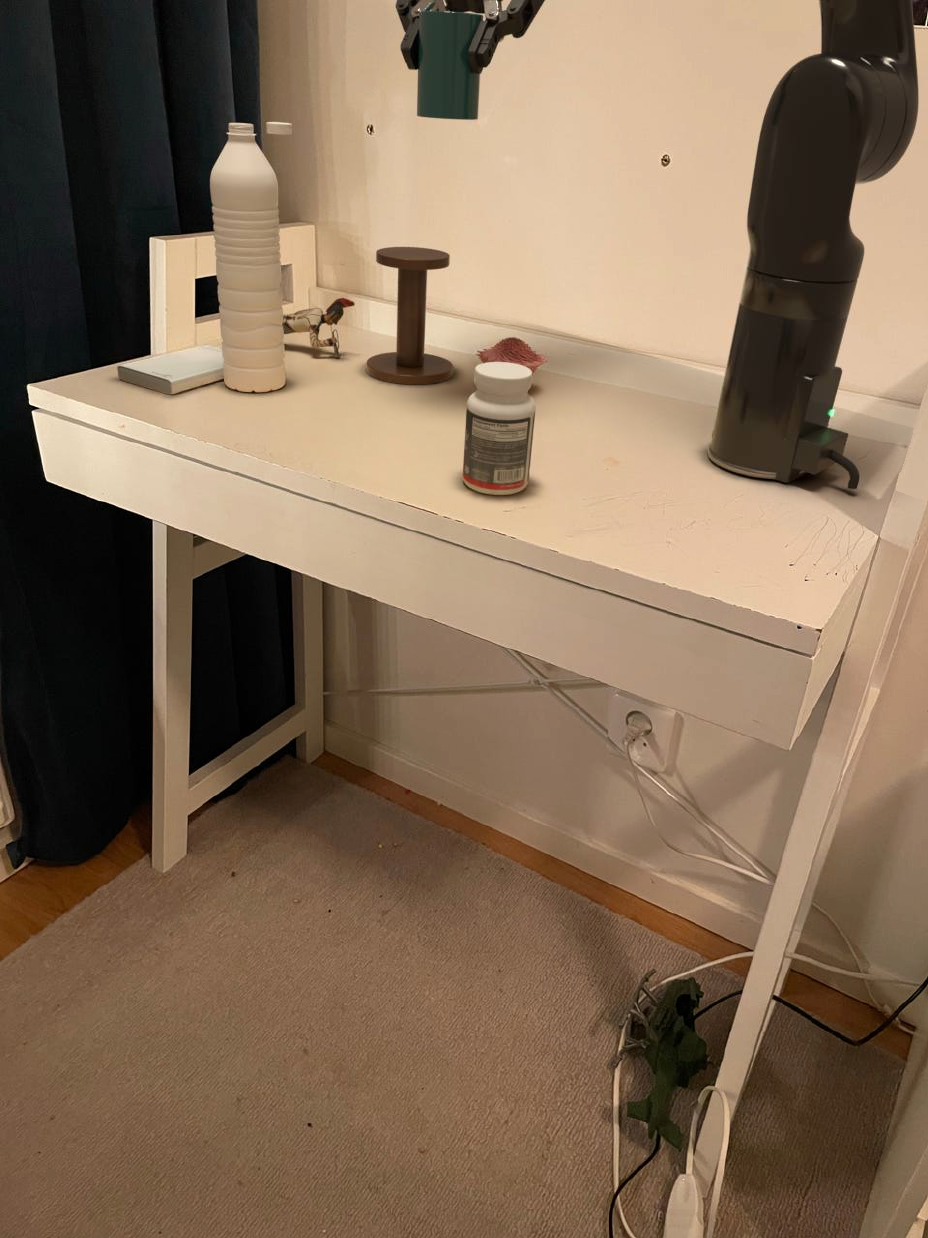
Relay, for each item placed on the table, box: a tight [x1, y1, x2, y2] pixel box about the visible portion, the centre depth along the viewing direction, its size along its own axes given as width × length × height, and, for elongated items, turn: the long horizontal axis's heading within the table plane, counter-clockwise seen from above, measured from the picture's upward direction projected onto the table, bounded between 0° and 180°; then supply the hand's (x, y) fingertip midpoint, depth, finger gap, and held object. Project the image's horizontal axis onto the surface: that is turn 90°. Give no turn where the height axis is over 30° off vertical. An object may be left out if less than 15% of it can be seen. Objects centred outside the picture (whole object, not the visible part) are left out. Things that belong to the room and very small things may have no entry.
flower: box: [475, 336, 548, 377], centre depth 103 cm, size 8×8×6 cm
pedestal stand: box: [365, 246, 454, 386], centre depth 104 cm, size 10×10×13 cm
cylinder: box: [416, 10, 484, 121], centre depth 83 cm, size 6×6×8 cm
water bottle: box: [209, 121, 293, 393], centre depth 95 cm, size 9×6×25 cm
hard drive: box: [116, 344, 224, 395], centre depth 101 cm, size 2×8×12 cm
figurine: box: [282, 297, 356, 359], centre depth 112 cm, size 6×4×15 cm
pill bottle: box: [462, 362, 536, 496], centre depth 78 cm, size 6×6×10 cm
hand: (441, 62), depth 81 cm, fingers closed on cylinder, 5 cm apart
